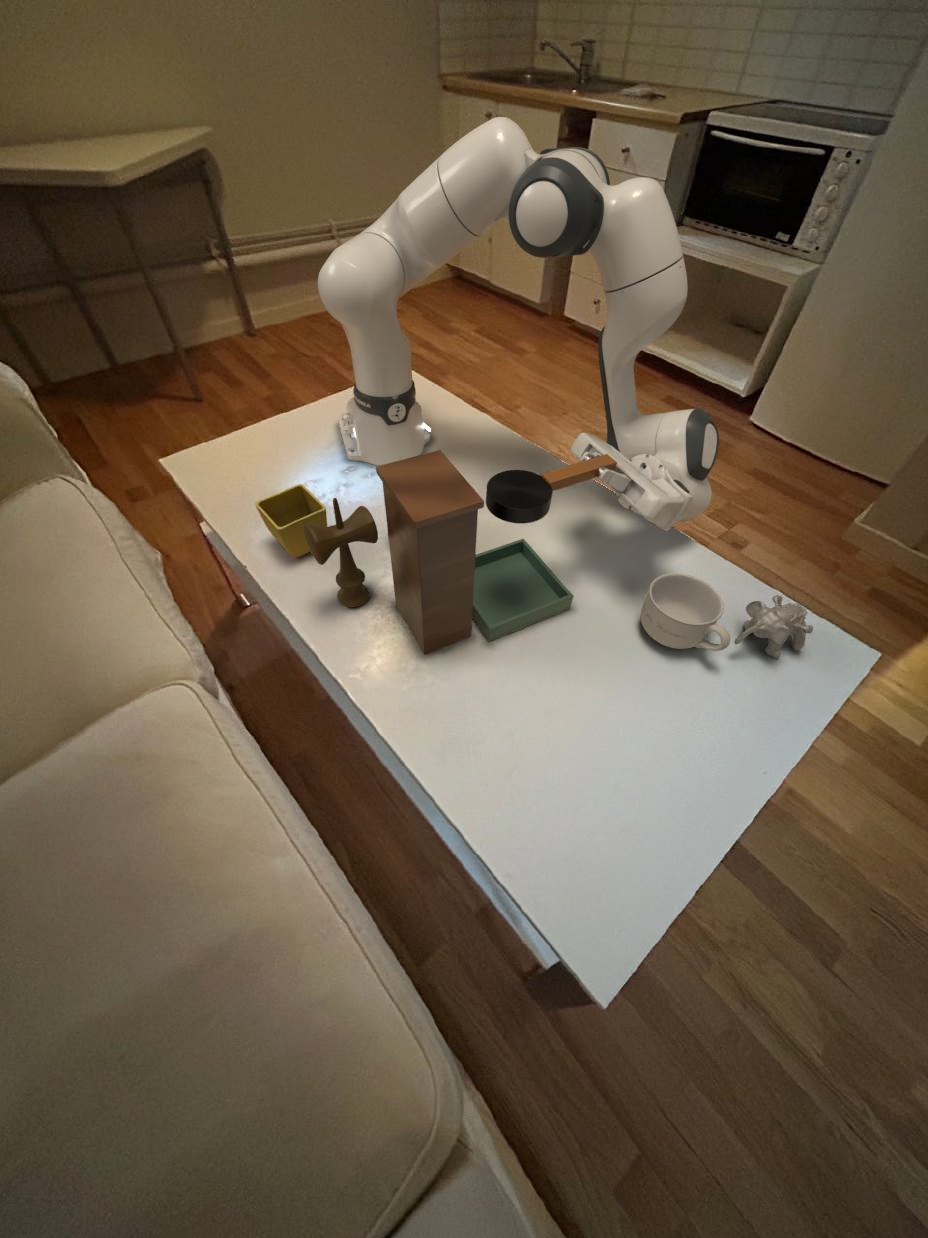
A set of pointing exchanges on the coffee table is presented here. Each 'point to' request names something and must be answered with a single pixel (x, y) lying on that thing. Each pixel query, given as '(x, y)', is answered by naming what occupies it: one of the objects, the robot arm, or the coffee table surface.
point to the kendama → (344, 550)
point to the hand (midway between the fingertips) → (592, 465)
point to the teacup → (683, 612)
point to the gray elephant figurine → (776, 624)
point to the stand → (432, 546)
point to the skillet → (536, 489)
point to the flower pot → (292, 517)
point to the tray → (514, 590)
